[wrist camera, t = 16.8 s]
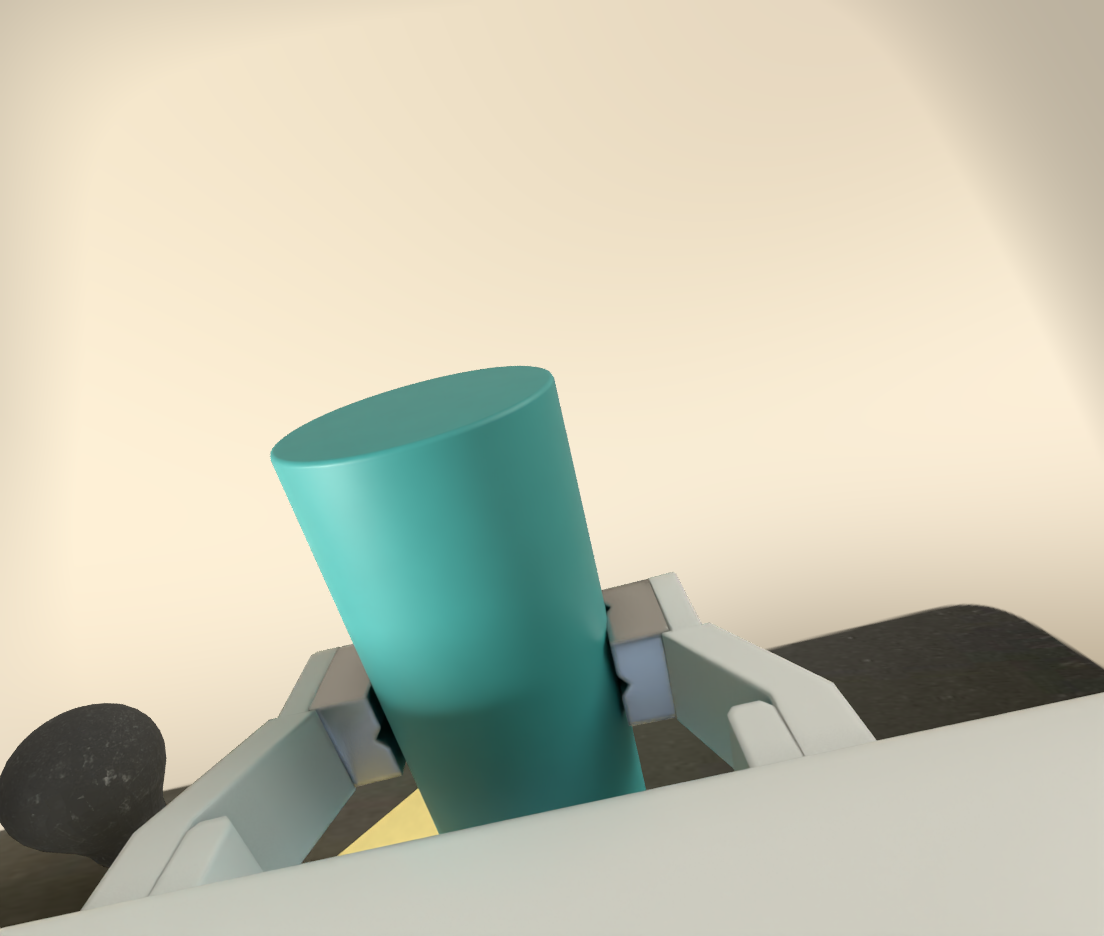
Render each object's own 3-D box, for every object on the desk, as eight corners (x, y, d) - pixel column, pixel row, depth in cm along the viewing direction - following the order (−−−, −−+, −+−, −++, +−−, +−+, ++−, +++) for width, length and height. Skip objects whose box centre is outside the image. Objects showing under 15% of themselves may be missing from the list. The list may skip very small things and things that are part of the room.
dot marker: (462, 919, 12) (239, 442, 8) (582, 792, 14) (460, 364, 10) (580, 1097, 9) (325, 487, 5) (709, 903, 11) (612, 363, 7)
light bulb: (63, 953, 24) (-82, 800, 20) (147, 828, 29) (43, 689, 25) (183, 928, 23) (59, 769, 20) (245, 807, 29) (156, 664, 25)
